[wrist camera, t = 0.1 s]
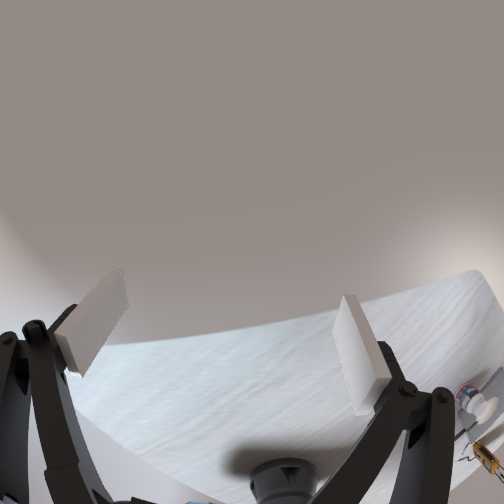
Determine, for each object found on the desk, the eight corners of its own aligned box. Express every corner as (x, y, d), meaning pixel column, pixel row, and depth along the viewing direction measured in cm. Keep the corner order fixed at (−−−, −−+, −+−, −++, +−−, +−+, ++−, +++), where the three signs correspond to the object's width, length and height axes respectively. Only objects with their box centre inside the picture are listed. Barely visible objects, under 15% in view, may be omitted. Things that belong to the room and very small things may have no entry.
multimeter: (452, 456, 48) (483, 495, 28) (478, 434, 48) (512, 469, 28) (456, 472, 49) (482, 507, 29) (480, 453, 49) (508, 484, 29)
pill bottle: (472, 381, 46) (493, 397, 37) (464, 400, 46) (483, 417, 38) (459, 383, 46) (480, 400, 37) (450, 402, 46) (469, 420, 38)
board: (432, 473, 49) (434, 476, 47) (414, 449, 48) (416, 453, 46) (506, 404, 47) (509, 406, 45) (499, 367, 46) (503, 370, 44)
